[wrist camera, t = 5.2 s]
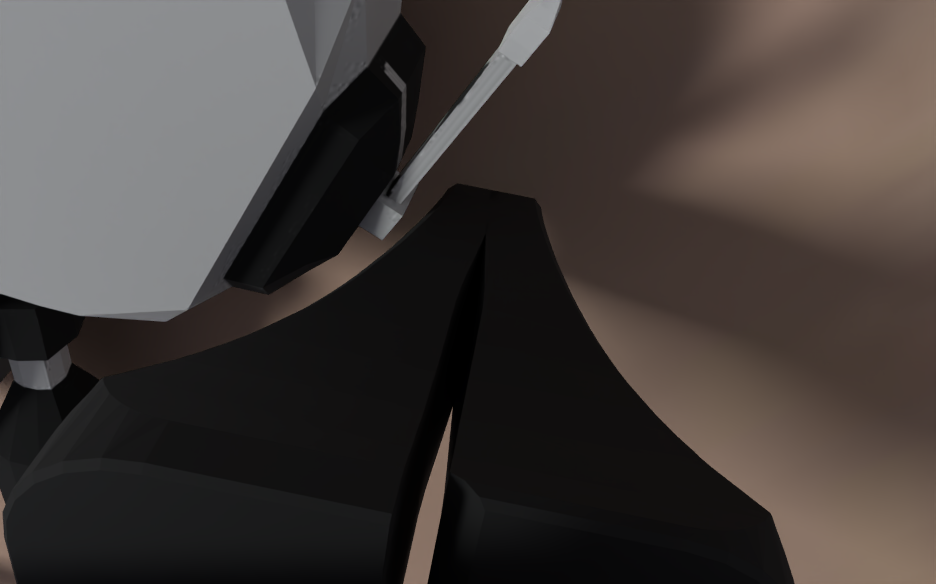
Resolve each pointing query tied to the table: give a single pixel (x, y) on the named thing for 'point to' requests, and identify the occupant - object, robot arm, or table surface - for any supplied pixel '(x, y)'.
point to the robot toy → (194, 162)
